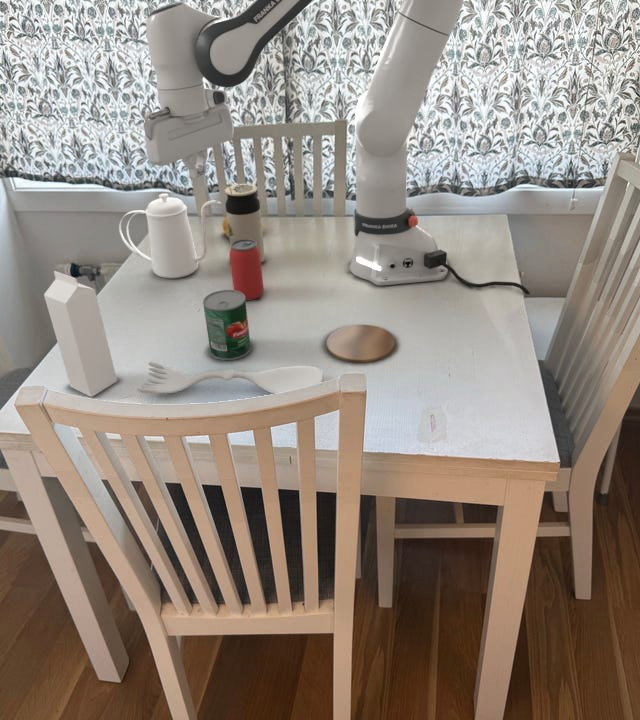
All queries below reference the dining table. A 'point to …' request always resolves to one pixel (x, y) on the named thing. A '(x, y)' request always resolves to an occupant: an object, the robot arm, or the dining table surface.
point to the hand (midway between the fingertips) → (198, 175)
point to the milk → (80, 334)
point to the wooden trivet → (360, 343)
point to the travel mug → (244, 215)
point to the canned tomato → (227, 324)
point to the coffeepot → (170, 237)
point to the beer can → (246, 268)
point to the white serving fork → (266, 380)
